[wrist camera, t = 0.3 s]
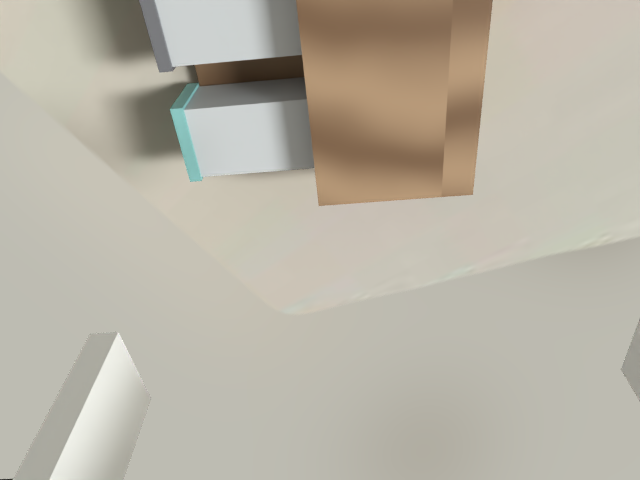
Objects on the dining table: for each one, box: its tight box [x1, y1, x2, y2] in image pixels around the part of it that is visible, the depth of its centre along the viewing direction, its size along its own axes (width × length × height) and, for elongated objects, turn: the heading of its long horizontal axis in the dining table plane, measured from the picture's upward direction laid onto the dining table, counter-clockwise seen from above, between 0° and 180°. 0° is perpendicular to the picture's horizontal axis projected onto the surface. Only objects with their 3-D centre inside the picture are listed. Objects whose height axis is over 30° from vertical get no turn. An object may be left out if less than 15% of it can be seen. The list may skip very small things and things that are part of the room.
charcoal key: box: [139, 0, 302, 72], centre depth 30 cm, size 5×13×5 cm, turn 95°
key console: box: [195, 0, 493, 206], centre depth 29 cm, size 23×18×8 cm
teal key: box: [170, 77, 315, 182], centre depth 34 cm, size 5×13×5 cm, turn 95°
